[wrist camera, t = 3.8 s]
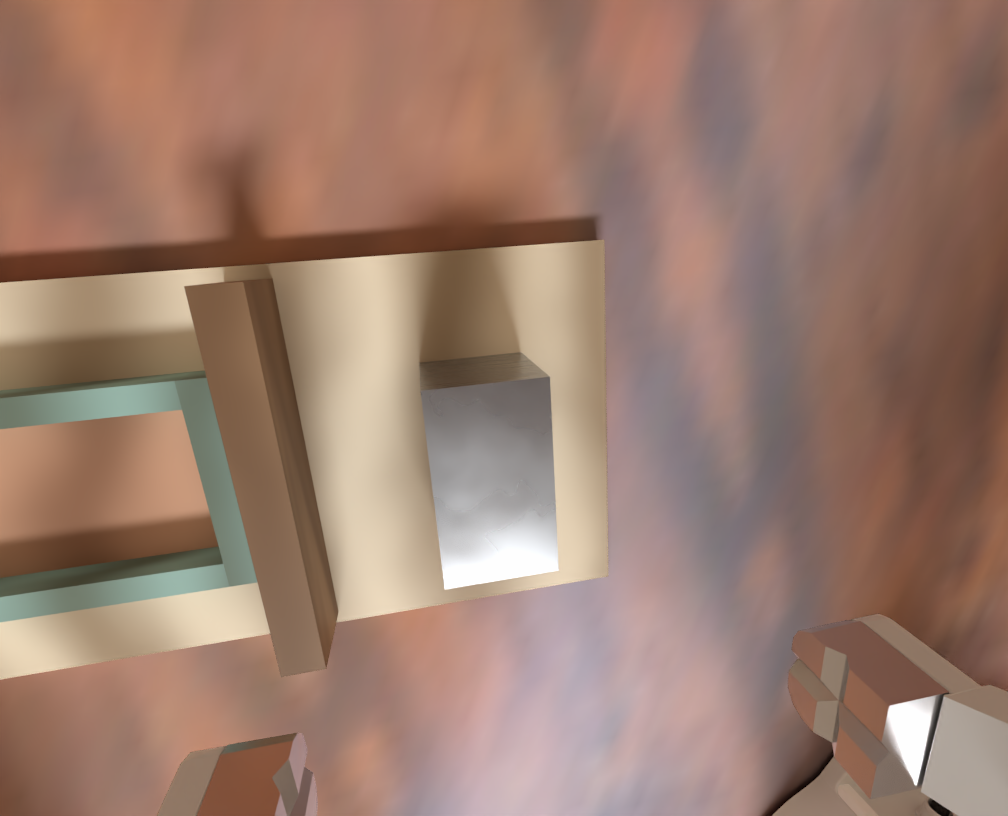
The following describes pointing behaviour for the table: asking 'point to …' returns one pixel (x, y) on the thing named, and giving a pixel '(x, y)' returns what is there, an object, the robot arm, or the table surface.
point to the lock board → (267, 445)
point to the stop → (491, 467)
